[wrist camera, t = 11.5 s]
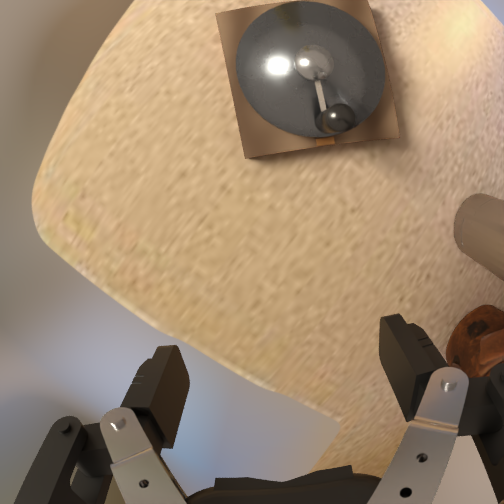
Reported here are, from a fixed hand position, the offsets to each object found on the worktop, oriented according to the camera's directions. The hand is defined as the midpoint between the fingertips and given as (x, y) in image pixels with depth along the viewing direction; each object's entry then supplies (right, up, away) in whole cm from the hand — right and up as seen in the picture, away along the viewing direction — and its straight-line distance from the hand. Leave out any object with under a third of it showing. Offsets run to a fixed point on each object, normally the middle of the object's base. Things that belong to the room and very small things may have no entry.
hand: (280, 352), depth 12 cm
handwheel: (+5, +24, +18) cm, 30 cm away
